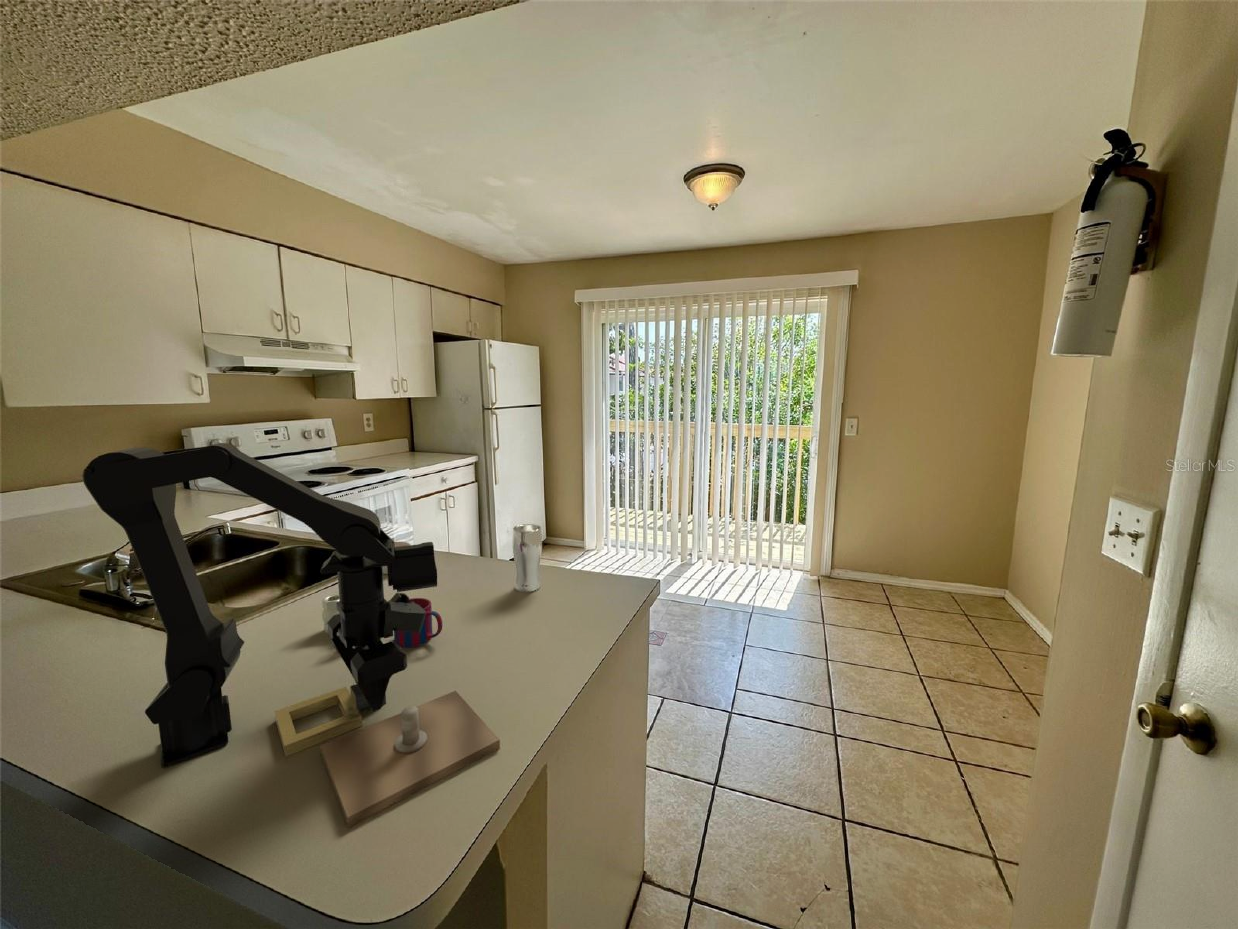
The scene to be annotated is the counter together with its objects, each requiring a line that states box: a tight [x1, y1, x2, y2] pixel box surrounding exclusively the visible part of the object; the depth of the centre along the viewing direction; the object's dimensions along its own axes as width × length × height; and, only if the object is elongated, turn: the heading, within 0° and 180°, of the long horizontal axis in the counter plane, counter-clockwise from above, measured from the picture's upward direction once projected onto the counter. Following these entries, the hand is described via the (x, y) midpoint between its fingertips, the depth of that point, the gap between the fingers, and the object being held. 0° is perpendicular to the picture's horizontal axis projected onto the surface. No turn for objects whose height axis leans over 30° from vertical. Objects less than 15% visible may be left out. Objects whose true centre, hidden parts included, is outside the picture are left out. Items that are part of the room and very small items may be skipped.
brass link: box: [274, 683, 387, 757], centre depth 69 cm, size 13×9×3 cm
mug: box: [393, 597, 443, 649], centre depth 90 cm, size 7×10×7 cm
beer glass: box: [512, 523, 543, 593], centre depth 115 cm, size 7×7×15 cm
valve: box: [321, 594, 340, 634], centre depth 92 cm, size 7×7×12 cm
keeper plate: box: [320, 690, 501, 828], centre depth 62 cm, size 18×14×6 cm
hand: (368, 694), depth 72 cm, fingers open, 9 cm apart
